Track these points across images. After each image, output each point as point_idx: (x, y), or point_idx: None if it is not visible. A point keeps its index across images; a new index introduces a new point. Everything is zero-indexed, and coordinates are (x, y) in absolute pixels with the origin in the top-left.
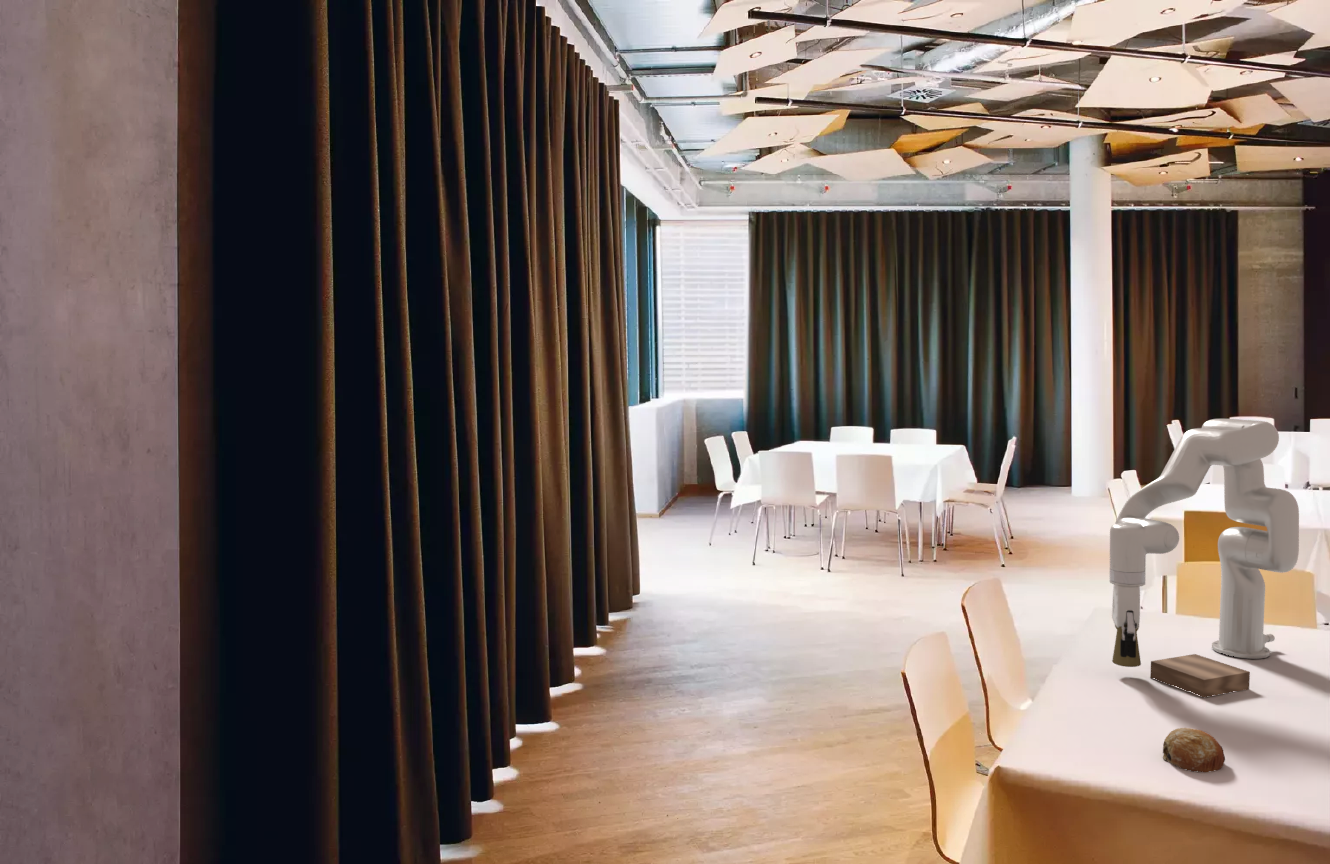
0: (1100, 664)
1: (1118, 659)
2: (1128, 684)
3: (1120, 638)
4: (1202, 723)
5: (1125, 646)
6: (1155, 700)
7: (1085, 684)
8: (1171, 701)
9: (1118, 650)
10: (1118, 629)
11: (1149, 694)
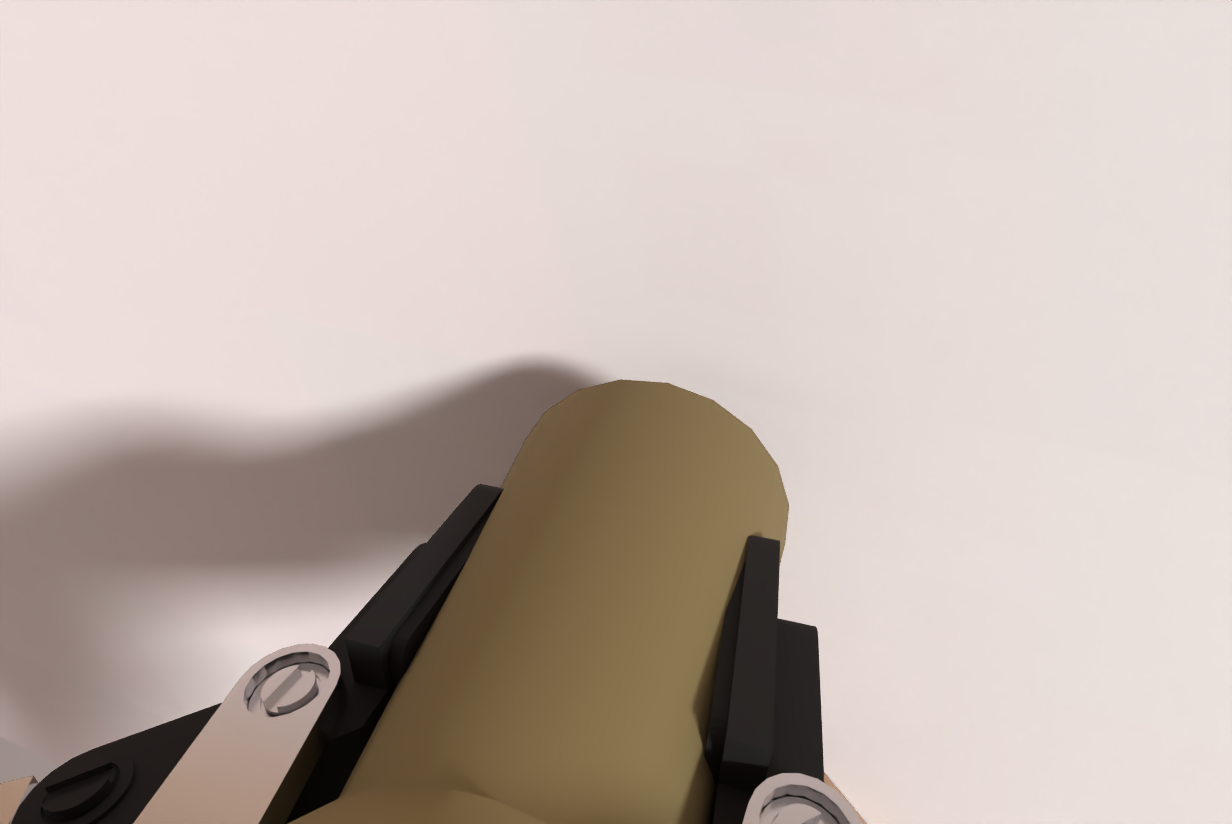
0: (1057, 288)
1: (534, 442)
2: (465, 398)
3: (417, 663)
4: (46, 561)
5: (368, 609)
6: (226, 469)
7: (308, 5)
8: (257, 543)
9: (504, 505)
10: (317, 814)
11: (315, 470)
